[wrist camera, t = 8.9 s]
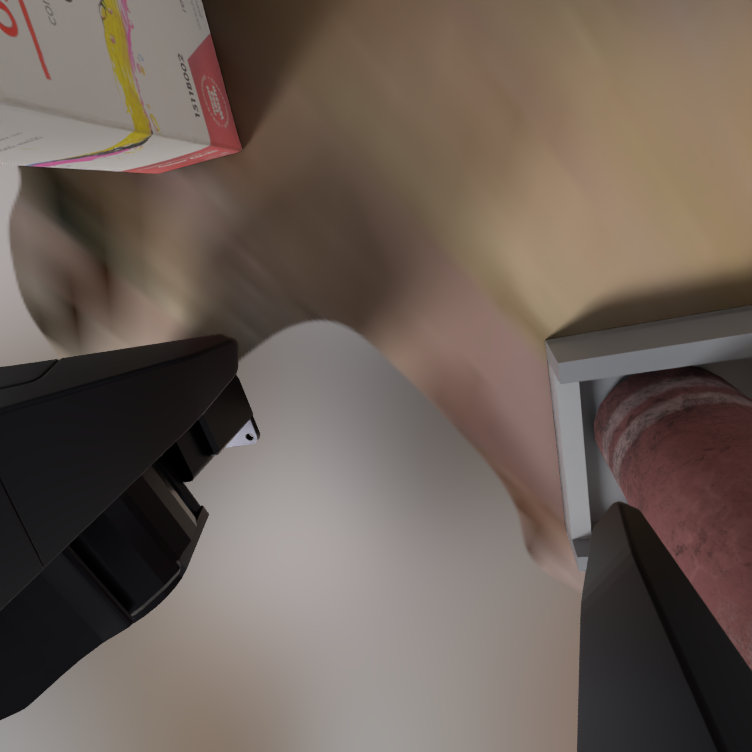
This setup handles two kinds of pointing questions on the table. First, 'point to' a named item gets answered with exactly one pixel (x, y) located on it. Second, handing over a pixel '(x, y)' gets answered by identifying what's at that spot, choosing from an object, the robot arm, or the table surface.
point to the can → (690, 479)
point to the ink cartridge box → (111, 86)
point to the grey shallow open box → (608, 369)
